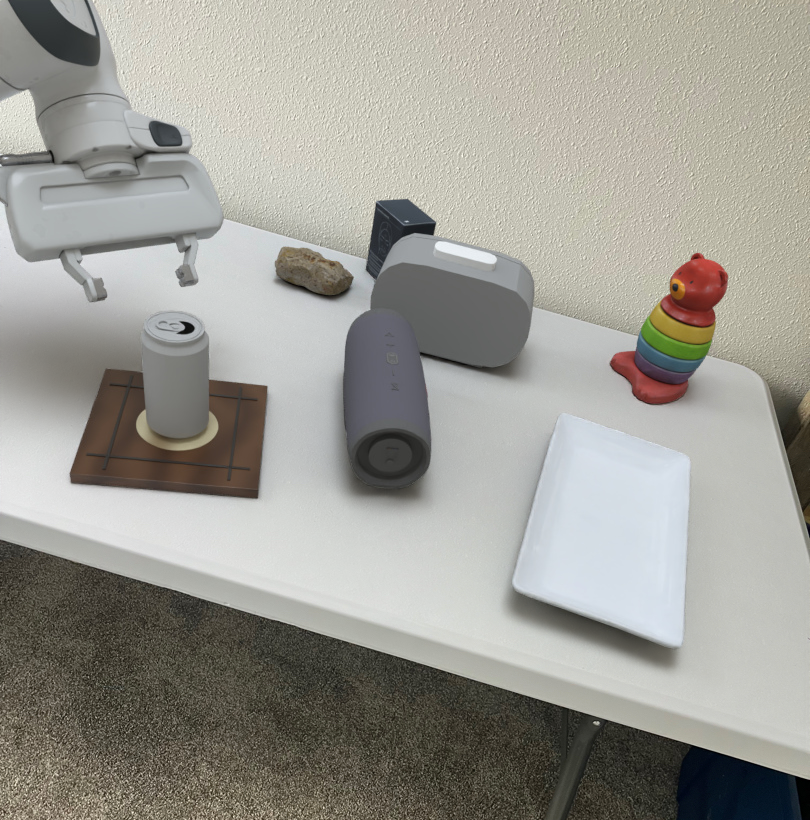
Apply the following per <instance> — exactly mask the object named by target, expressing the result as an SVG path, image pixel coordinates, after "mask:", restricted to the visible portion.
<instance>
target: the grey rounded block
mask: <svg viewBox="0 0 810 820" xmlns="http://www.w3.org/2000/svg"><path fill="white" fill-rule="evenodd" d="M534 302H535V280H534V277H533V275H532V272H531V270H530V269H529V268H528V267H527V265H526V264H525V263H524V262H523V261H522V260H521V259H519V258H516V257H513V256H511V255H508V254H506V253H503V252H500V251H497V250H493V249H489V248H485V247H482V246H479V245H478V246H477V245H473V244H469V243H465V242H463V241H458V240H454V239H450V238H447V237H442V236H439V235H434V236H433V235H425V234H418V233H414V234H411V235H408V236H405V237H402V238H401V239H400V240H399V241H397V242H396V243H395V244H394V245H393V246H392V248H391V250H390V252H389V254H388V255H387V257H386V260H385V262H384V264H383V266H382V269H381V271H380V273H379V275H378V277H377V279H375V282H374V284H373V287H372V290H371V295H370V303H369V304H370V305H369V310H371V309H377V308H386V309H391V310H394V311H396V312H399V313H400V314H402V315H403V316H404V317H405V318H406V319H407V320H408V322H409V323H410V325H411V327H412V329H413V331H414V334H415V337H416V340H417V343H418V348H419V352H420V354H425V355H428V356H429V355H430V356H434V357H437V358H441V359H444V360H448V361H453V362H457V363H460V364H465V365H469V366H472V367H476V368H479V369H482V368H483V367H488V368H495V367H499V366H504V365H507V364H509V363H510V362H511V361H513V360H514V359H516V358H517V357H518V356H519V354H520V353H521V351H522V350H523V349H524V348H525V345H526V343H527V341H528V338H529V335H530V331H531V330H530V329H531V326H532V316H533V309H534Z"/></svg>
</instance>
